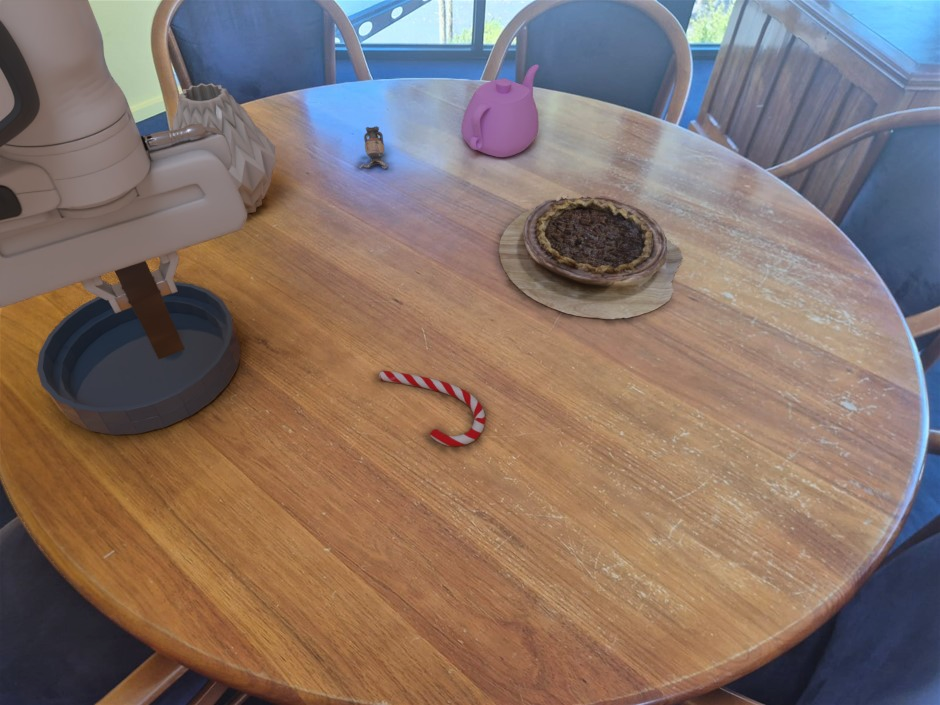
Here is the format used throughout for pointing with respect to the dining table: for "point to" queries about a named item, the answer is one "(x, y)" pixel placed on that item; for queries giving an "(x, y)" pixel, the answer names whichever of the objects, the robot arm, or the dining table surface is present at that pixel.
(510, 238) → the pie
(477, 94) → the teapot
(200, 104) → the vase
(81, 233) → the robot arm
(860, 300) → the dining table surface
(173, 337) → the stick
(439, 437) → the candy cane
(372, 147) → the vase
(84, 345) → the bowl
